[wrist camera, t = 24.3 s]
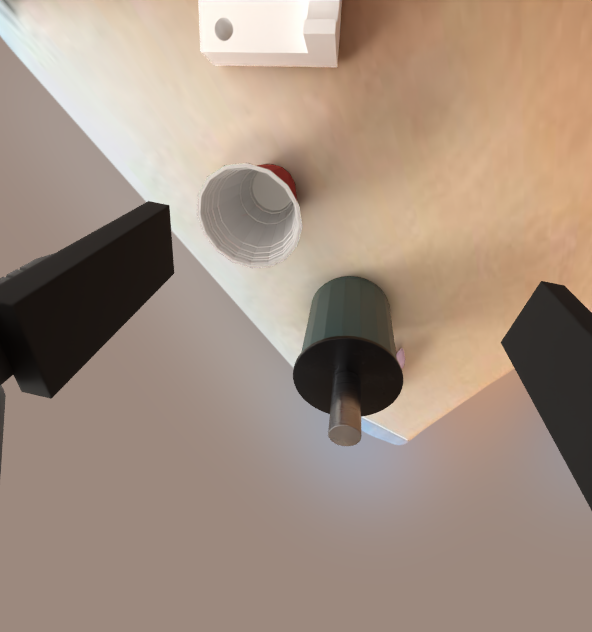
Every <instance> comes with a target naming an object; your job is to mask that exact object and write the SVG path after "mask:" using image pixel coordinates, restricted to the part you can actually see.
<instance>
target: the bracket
mask: <svg viewBox="0 0 592 632" xmlns="http://www.w3.org/2000/svg"><path fill="white" fill-rule="evenodd" d="M341 8H342V0H199V28H200V52H201V53H202V54H203V55H204V56H205V57H206V58H207V59H208V60H209V61H210V62H211V63H212V64H213V65H218V66H285V67H337V64H338V52H339V40H340V27H341ZM229 38H230V39H229Z"/></svg>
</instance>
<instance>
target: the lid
mask: <svg viewBox="0 0 592 632" xmlns="http://www.w3.org/2000/svg"><path fill="white" fill-rule="evenodd" d="M293 380H294V384H295V386H296V389H297V390H298V392H299V394H300V395H301V396H302V397H303V399H304V400H305V401H307V402H308V403H309V404H310V405H312V406H313V407H315V408H317V409H319V410H321V411H323V412H326V413H328V414H330V420H329V432H328V435H329V438H330V440H331V441H333V442H334V443H336V444H338V445H341V446H352V445H355V444H357V443H358V442H359V441H360V440H361V416H367V415H371V414H374V413H377V412H379V411H381V410H383V409H385V408H386V407H388V406H389V405H391V404H392V403H393V402H394V401H395V400H396V398H397V397H398V395H399V394H400V392H401V389H402V386H403V374H402V369H401V366H400V364H399V362H398V360H397V359H396V358H395V356H394V355H393V354H392V353H391V352H390V351H389V350H388V349H386V348H385V347H383V346H382V345H380V344H378V343H376V342H374V341H371V340H369V339H365V338H362V337H356V336H334V337H329V338H325V339H322V340H319V341H317V342H315V343H313V344H311V345H310V346H308V347H307V348H306V349H305V350H304V351H303V352H302V353H301V354H300V355H299V357H298V358H297V360H296V363H295V366H294V370H293Z"/></svg>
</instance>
